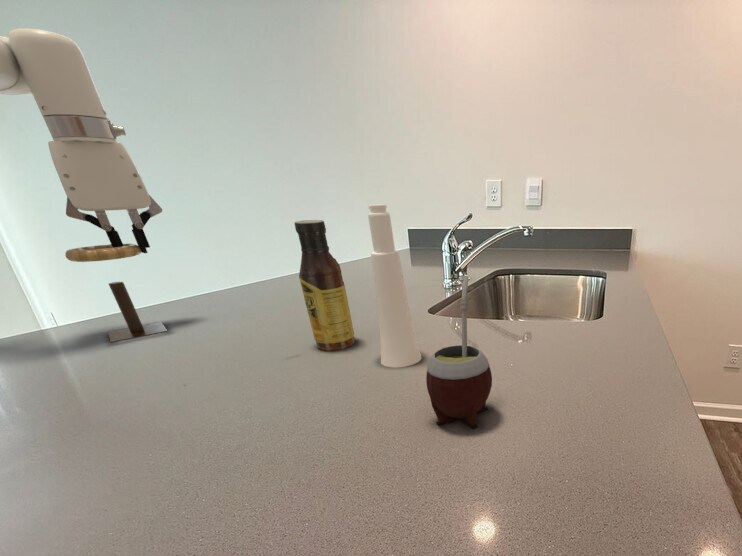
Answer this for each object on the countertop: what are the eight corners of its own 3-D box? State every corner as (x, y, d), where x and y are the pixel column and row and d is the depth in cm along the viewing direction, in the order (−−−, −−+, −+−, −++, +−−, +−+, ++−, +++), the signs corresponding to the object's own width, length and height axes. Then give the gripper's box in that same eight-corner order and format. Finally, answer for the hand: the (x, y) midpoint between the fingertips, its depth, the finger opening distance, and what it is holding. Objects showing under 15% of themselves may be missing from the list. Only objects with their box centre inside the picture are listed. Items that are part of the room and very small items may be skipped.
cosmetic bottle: (384, 372, 59) (354, 206, 49) (378, 358, 64) (350, 204, 54) (425, 364, 61) (405, 204, 51) (417, 351, 66) (396, 203, 56)
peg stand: (113, 347, 71) (85, 290, 67) (110, 337, 76) (84, 283, 72) (169, 335, 76) (147, 282, 72) (163, 326, 81) (142, 276, 77)
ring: (68, 265, 64) (62, 253, 63) (68, 259, 70) (63, 248, 69) (145, 256, 70) (141, 245, 69) (139, 251, 76) (135, 241, 75)
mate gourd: (447, 442, 42) (430, 299, 35) (420, 411, 48) (401, 284, 41) (508, 421, 46) (504, 287, 39) (475, 394, 52) (467, 275, 45)
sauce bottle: (317, 343, 70) (286, 220, 62) (355, 337, 72) (330, 218, 64) (317, 356, 65) (283, 223, 56) (358, 349, 67) (331, 220, 58)
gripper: (144, 137, 72) (184, 246, 80) (10, 132, 62) (72, 257, 70) (150, 133, 67) (192, 249, 75) (5, 126, 57) (72, 262, 65)
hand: (133, 252), depth 72 cm, fingers closed on ring, 2 cm apart
